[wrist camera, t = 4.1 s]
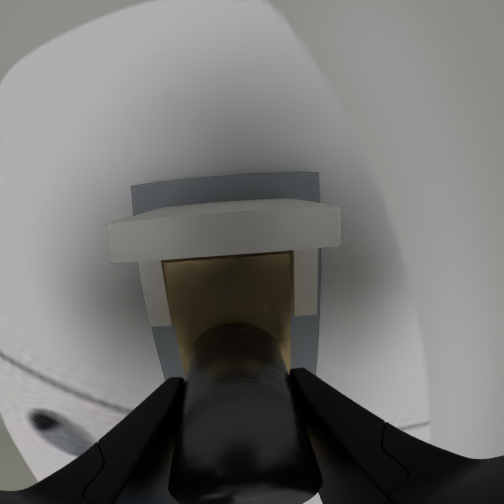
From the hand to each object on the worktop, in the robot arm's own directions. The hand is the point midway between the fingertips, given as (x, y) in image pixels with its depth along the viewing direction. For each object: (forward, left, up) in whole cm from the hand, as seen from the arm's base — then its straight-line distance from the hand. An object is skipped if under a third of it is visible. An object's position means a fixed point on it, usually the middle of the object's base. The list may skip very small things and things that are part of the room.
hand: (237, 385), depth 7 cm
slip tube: (-3, 0, -5) cm, 6 cm away
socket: (+3, 0, -8) cm, 8 cm away
